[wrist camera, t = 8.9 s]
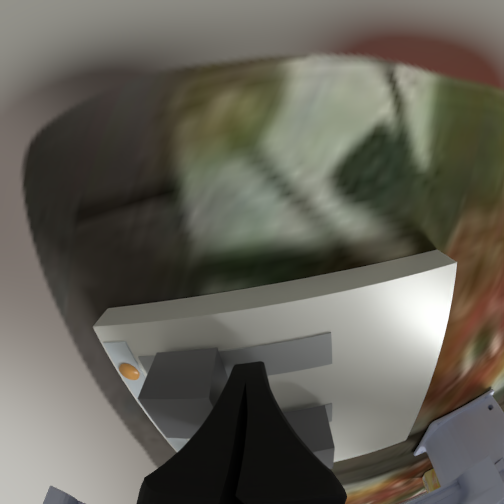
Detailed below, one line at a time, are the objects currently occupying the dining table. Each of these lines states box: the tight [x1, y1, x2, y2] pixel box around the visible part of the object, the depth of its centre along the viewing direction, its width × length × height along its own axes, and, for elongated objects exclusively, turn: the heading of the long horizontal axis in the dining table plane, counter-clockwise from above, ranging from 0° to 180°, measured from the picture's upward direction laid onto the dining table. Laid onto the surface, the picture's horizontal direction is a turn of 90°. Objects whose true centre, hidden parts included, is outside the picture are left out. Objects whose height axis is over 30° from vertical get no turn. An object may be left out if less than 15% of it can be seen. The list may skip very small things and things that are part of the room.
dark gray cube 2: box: [283, 405, 335, 469], centre depth 12 cm, size 3×3×3 cm
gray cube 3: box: [137, 347, 228, 439], centre depth 11 cm, size 3×3×3 cm
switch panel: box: [93, 250, 457, 462], centre depth 15 cm, size 18×17×2 cm
